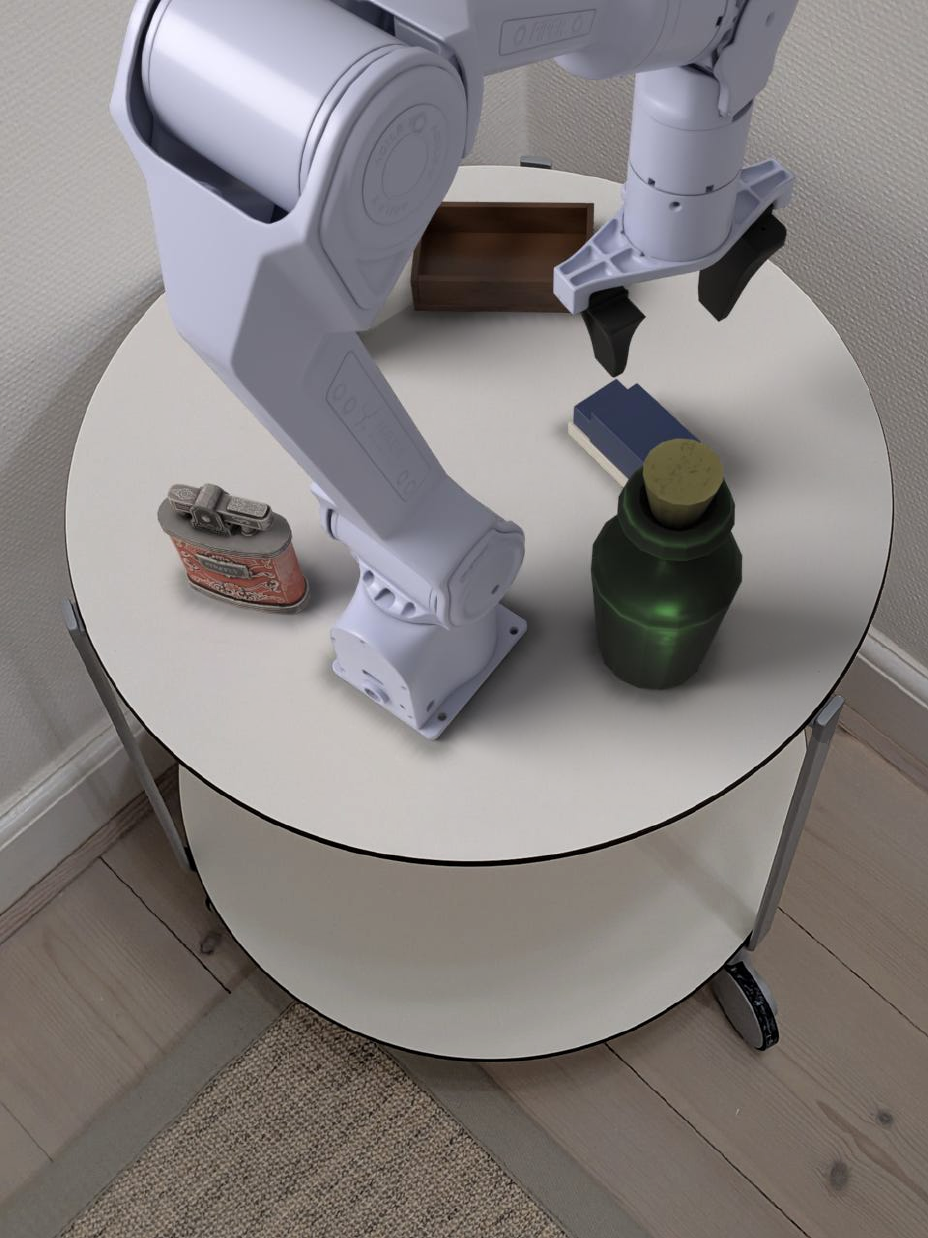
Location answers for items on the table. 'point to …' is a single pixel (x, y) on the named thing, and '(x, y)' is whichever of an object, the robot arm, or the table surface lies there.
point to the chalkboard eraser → (623, 428)
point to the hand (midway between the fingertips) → (661, 336)
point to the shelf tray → (497, 255)
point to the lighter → (234, 549)
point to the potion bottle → (666, 567)
